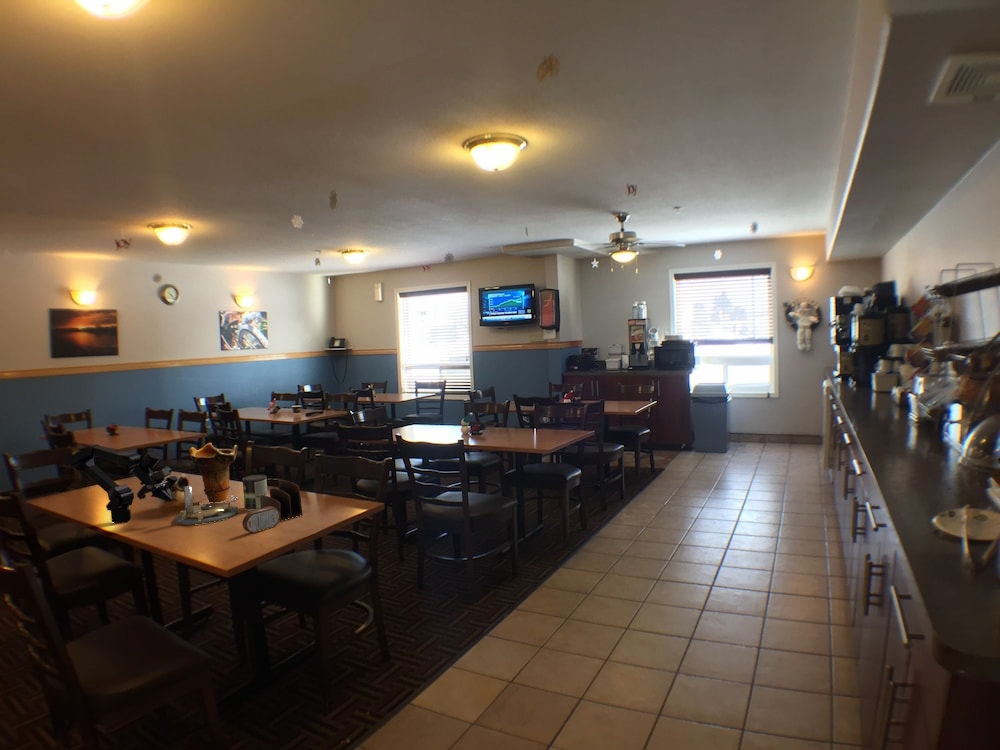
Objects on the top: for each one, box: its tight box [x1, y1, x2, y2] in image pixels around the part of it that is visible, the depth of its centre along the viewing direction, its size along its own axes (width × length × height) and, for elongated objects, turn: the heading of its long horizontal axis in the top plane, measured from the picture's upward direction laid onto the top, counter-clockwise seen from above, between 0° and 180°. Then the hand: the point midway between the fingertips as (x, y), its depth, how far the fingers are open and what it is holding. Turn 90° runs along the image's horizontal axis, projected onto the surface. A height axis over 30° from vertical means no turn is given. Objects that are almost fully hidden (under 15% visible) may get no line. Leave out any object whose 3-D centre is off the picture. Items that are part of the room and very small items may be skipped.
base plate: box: [174, 504, 239, 526], centre depth 260 cm, size 25×25×2 cm
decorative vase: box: [189, 442, 238, 505], centre depth 285 cm, size 21×23×28 cm
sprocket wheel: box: [179, 485, 234, 519], centre depth 259 cm, size 21×21×13 cm
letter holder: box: [260, 479, 303, 522], centre depth 257 cm, size 10×20×14 cm, turn 45°
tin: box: [242, 507, 280, 534], centre depth 237 cm, size 15×3×8 cm, turn 141°
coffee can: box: [242, 474, 269, 511], centre depth 270 cm, size 10×10×14 cm
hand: (171, 500), depth 254 cm, fingers closed
